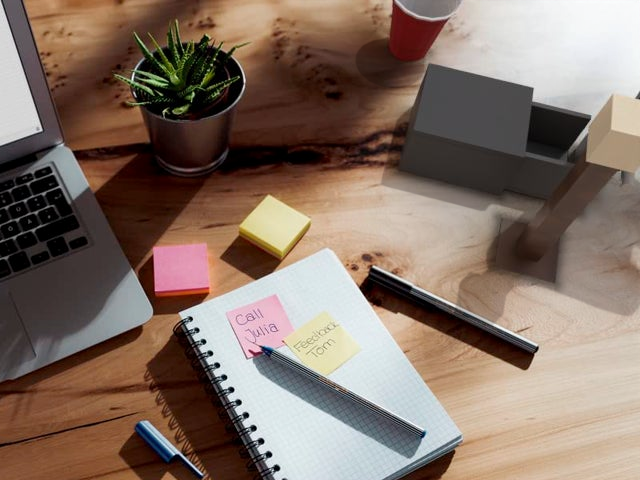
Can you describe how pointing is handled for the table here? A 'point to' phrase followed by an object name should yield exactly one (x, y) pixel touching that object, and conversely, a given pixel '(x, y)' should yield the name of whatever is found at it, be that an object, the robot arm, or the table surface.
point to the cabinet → (467, 129)
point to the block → (616, 134)
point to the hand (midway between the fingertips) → (609, 165)
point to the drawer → (553, 152)
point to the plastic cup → (418, 25)
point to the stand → (550, 223)
